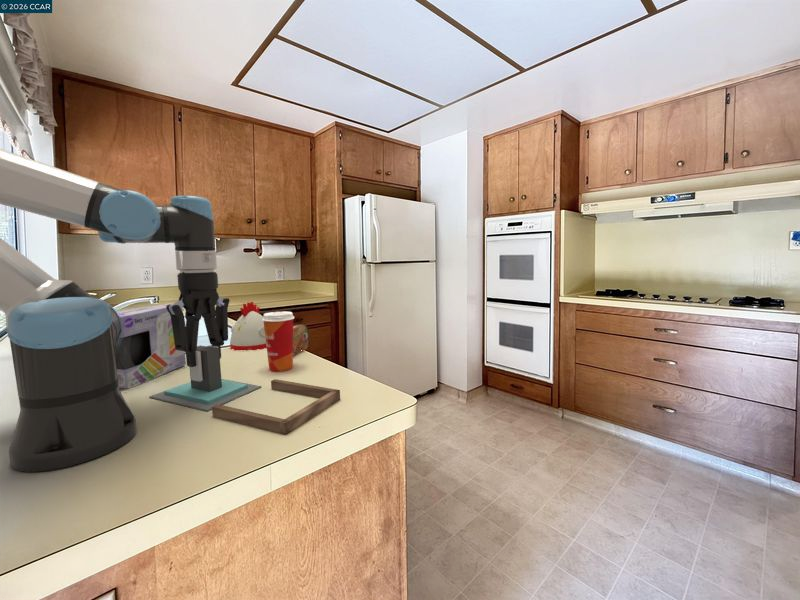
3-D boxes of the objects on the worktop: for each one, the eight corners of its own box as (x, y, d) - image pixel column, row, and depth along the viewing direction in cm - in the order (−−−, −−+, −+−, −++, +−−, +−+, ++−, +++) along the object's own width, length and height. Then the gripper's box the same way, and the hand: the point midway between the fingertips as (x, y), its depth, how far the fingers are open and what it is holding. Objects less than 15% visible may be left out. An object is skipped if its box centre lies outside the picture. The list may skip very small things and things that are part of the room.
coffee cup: (264, 365, 100) (261, 312, 98) (295, 362, 103) (293, 310, 101) (265, 374, 92) (261, 316, 90) (298, 370, 95) (295, 314, 93)
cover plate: (208, 404, 73) (205, 357, 72) (164, 394, 79) (160, 350, 77) (247, 387, 82) (245, 345, 81) (205, 380, 88) (202, 340, 87)
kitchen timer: (220, 349, 119) (217, 304, 117) (250, 339, 131) (247, 299, 130) (255, 352, 114) (252, 305, 112) (282, 342, 127) (280, 300, 125)
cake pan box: (125, 391, 82) (116, 314, 80) (106, 390, 83) (97, 314, 80) (188, 365, 101) (183, 303, 98) (172, 365, 101) (167, 303, 99)
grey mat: (207, 411, 70) (207, 410, 70) (149, 397, 78) (149, 396, 78) (261, 387, 83) (261, 386, 83) (207, 377, 90) (207, 376, 90)
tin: (288, 360, 105) (286, 331, 104) (278, 359, 106) (276, 331, 105) (310, 347, 120) (309, 322, 119) (301, 346, 120) (300, 322, 119)
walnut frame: (285, 434, 61) (285, 423, 61) (212, 416, 68) (211, 406, 68) (340, 399, 76) (339, 390, 75) (275, 387, 83) (274, 379, 83)
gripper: (170, 273, 68) (181, 392, 71) (241, 269, 83) (248, 368, 86) (145, 273, 71) (156, 387, 74) (218, 269, 86) (225, 364, 89)
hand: (206, 376), depth 80 cm, fingers open, 4 cm apart
